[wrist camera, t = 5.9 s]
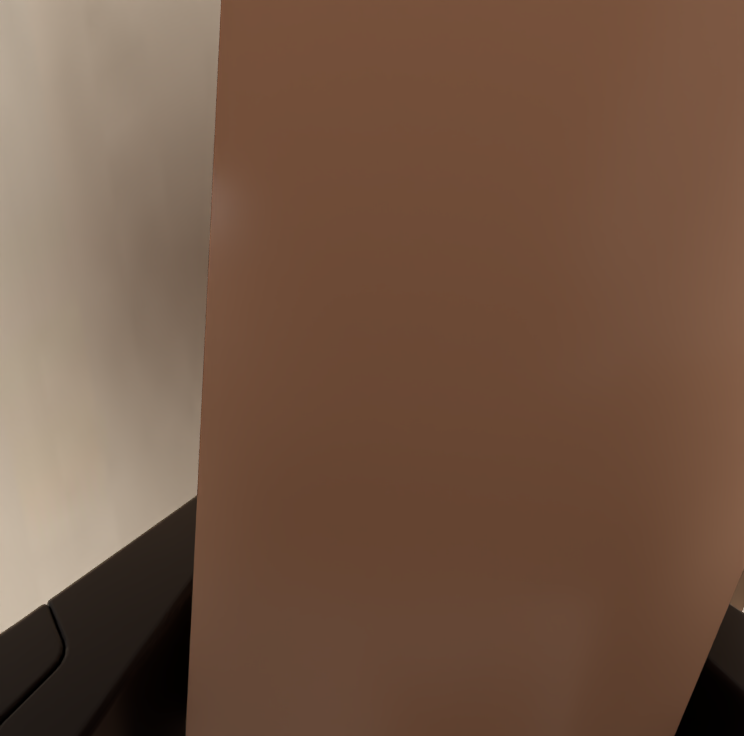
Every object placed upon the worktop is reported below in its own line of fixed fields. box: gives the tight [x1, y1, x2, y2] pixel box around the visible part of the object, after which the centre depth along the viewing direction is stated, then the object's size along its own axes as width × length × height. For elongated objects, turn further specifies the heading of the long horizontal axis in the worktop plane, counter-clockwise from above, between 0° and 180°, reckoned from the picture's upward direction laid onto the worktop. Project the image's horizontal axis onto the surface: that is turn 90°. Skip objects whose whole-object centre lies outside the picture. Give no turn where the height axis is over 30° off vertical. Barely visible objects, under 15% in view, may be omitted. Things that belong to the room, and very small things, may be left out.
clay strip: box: [186, 0, 744, 736], centre depth 8 cm, size 16×4×5 cm, turn 172°
